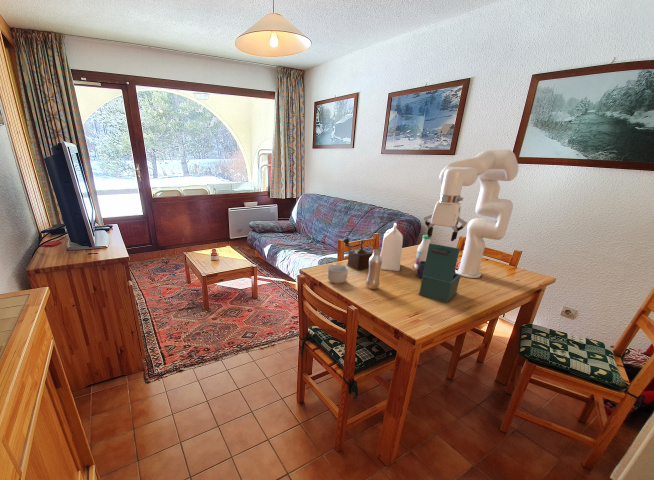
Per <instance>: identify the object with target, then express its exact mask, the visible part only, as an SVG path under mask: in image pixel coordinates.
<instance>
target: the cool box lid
mask: <svg viewBox="0 0 654 480" xmlns="http://www.w3.org/2000/svg"><path fill="white" fill-rule="evenodd" d="M460 250H461V248H458V247H453V246H448V245H442V244H438V243H431V242H430V243H429V247H428V252H427V257H426V262H425V266H424V271H423V276H427V277H431V278H435V279H439V280H443V281H447V282H452V279H453V275H454V273H455V271H456V268H457V267H456V266H457V263H458V258H459V254H460Z"/></svg>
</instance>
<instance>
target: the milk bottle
mask: <svg viewBox="0 0 654 480" xmlns="http://www.w3.org/2000/svg"><path fill="white" fill-rule="evenodd" d="M421 239H422V241H421V242H420V244H419V245H418V247H417V249H416V256H415V261H414V266H413V267H414V268H415V269H416V270H418V265H419V262H420V261H426V257H427V252H428V247H429V243H431V241H432V236H431V237H428V235H427V234H423V235H422V238H421Z"/></svg>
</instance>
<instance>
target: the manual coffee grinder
mask: <svg viewBox="0 0 654 480" xmlns="http://www.w3.org/2000/svg"><path fill="white" fill-rule="evenodd" d="M342 242H343V243H344V246H345V247H347V248H354V249H352V250H348V254H347V255H348V256H347V265H346V266H347V267H349V268H351V269H353V270H356V271H364V270H369V259H370V257H371V256H372V255H373V254H372V253H373V252H370V251H369V250H367V249H364V248H363V244H364V240H363V239H361V240H360V242H359V243H358V244H355V245H350V242H351V239H350V238H349V237H344V238H343V239H342ZM359 246H360V247H359Z"/></svg>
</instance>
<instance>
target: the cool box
mask: <svg viewBox="0 0 654 480" xmlns="http://www.w3.org/2000/svg"><path fill="white" fill-rule="evenodd" d="M461 277H462V276H461V275H460V274H456V273H455V272H454V275H453V279H452V282H447V281H443V280H439V279H435V278H431V277H427V276H423V278H421V283H420V288H419V296H422V297H426V298H429V299H433V300H436V301H440V302H443V303H446V304H447V303H449V301H450V300H451V299H452V298H453V297H454V296H455V295H456V294H457V291H458V288H459V284H460V279H461Z"/></svg>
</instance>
